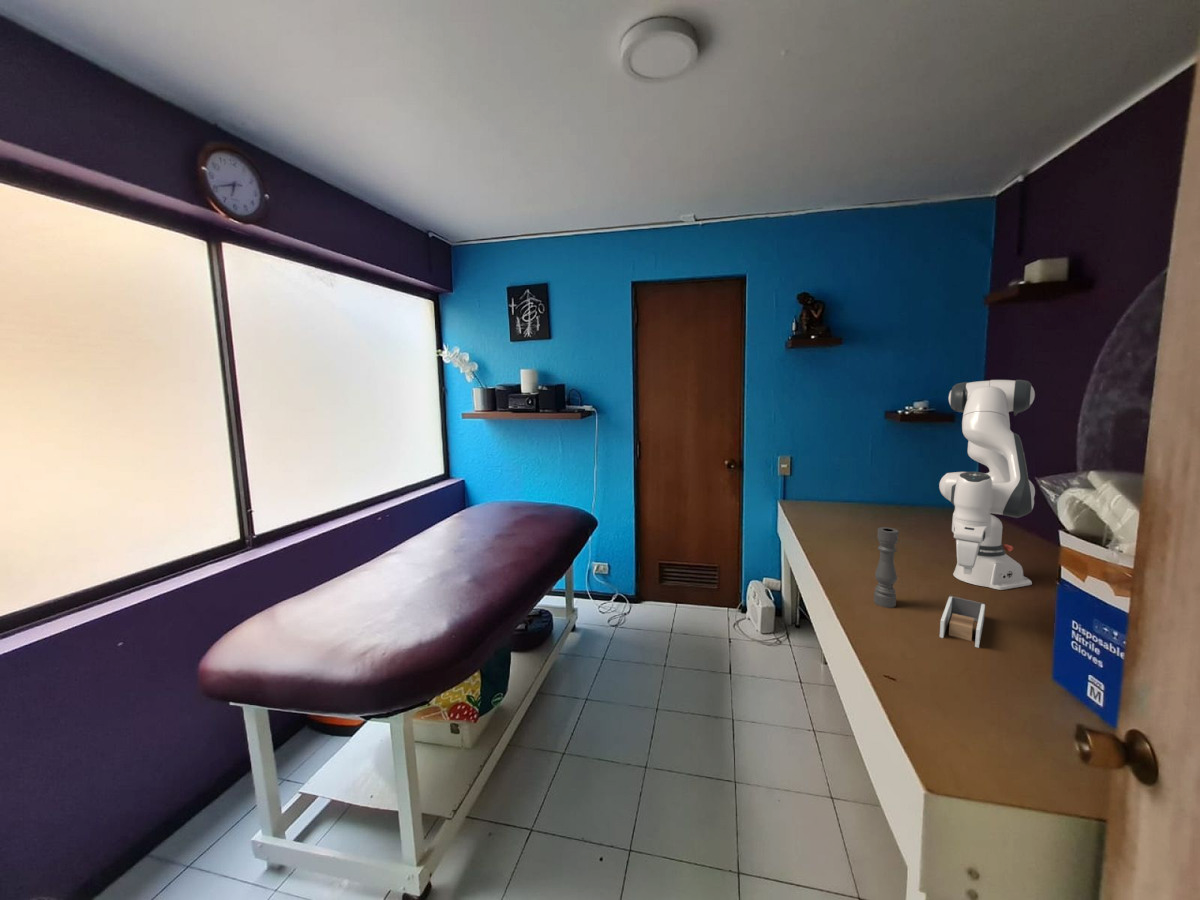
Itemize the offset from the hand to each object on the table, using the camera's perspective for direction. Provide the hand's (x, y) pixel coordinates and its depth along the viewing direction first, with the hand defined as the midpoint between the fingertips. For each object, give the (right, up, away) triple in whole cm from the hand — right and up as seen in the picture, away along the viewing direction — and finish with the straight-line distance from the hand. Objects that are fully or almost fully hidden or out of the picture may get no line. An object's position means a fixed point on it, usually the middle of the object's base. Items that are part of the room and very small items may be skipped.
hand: (967, 572), depth 136 cm
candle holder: (-16, -14, +15) cm, 26 cm away
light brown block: (-5, -16, -4) cm, 18 cm away
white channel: (-3, -16, -2) cm, 16 cm away
